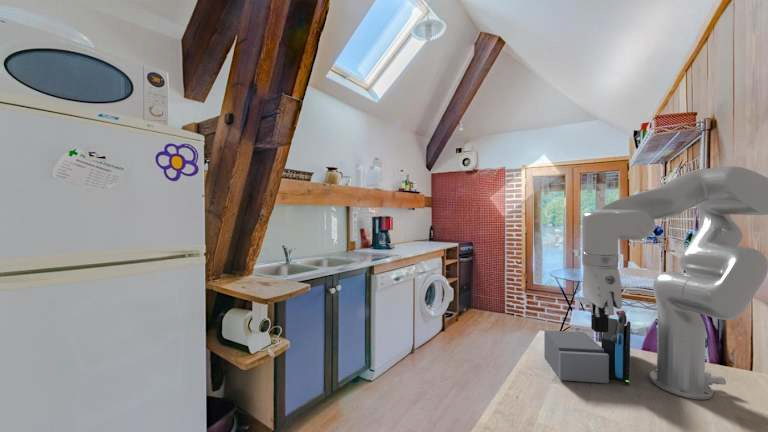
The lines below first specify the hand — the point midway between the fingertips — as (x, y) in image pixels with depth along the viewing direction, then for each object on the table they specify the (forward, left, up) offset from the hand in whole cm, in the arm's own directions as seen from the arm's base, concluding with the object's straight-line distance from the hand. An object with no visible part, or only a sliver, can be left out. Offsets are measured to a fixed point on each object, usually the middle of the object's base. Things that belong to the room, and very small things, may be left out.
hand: (599, 330), depth 79 cm
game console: (-14, -18, -19) cm, 30 cm away
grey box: (0, -16, -19) cm, 24 cm away
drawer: (0, -14, -18) cm, 23 cm away
